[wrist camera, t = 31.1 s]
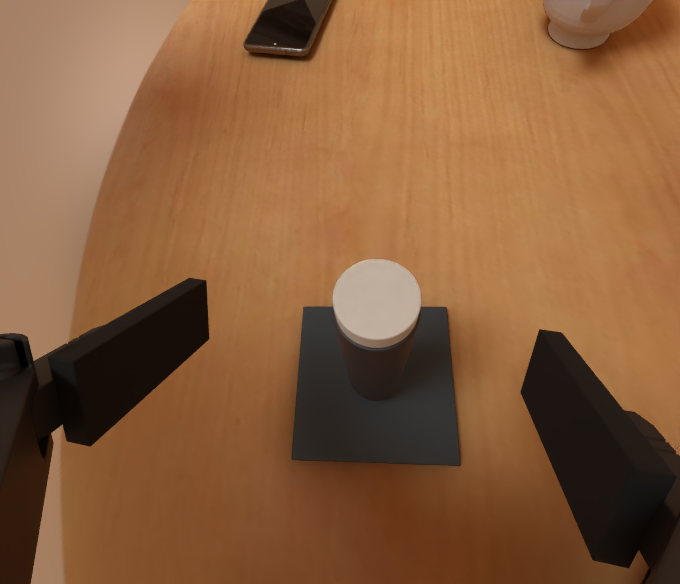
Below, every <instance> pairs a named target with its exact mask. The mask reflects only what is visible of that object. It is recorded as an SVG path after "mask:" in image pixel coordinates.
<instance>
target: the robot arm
mask: <svg viewBox="0 0 680 584" xmlns="http://www.w3.org/2000/svg"><path fill="white" fill-rule="evenodd" d="M208 340H209V325H208V305H207V285H206V280H200V279H193V278H188V279H186V280H185V281H183V282H181V283H179V284H177V285H176V286H174V287H172V288H170V289H169V290H167V291H165V292H163V293H161V294H160V295H158V296H156V297H154V298H152V299H151V300H149V301H147V302H145V303H143V304H142V305H140V306H138V307H136V308H134V309H133V310H131V311H129V312H127V313H125V314H124V315H122V316H120V317H118V318H117V319H115V320H113V321H111V322H109V323H108V324H106V325H103V326H100V327H97V328H94V329H92V330H90V331H88V332H86V333H84V334H82V335H81V336H79V338H75V339H73V340H71V341H70V342H68V344H64V345H62V346H61V347H59V348H57V349H55V350H53V351H51V352H50V353H48V354H46V355H44V356H42V357H41V358H39V359H37V360H35V361H33V357H32V353H31V349H30V345H29V341H28V337H27V336H25V335H23V334H15V333H9V334H0V584H31V578H32V572H33V566H34V559H35V554H36V547H37V541H38V535H39V529H40V522H41V517H42V511H43V505H44V498H45V492H46V486H47V480H48V474H49V468H50V462H51V456H52V450H53V440H52V435H51V433H52V432H53V431H54V430H56V429H57V428H58V427H60V426H61V425H62V424H63V427H64V432H65V436H66V441H68V442H72V443H77V444H81V445H86V446H90V447H91V446H92V445H93V444H94V443H95V442H96V441H97V440H98V439H99V438H100V437H102V436H103V435H104V434H105V433H106V432H107V431H108V430H109V429H110V428H112V427H113V426H114V425H115V424H116V423H117V422H118V421H119V420H120V419H121V418H123V417H124V416H125V415H126V414H127V413H128V412H129V411H130V410H131V409H133V408H134V407H135V406H136V405H137V404H138V403H139V402H140V401H141V400H142V399H144V398H145V397H146V396H147V395H148V394H149V393H150V392H151V391H152V390H153V389H155V388H156V387H157V386H158V385H159V384H160V383H161V382H162V381H163V380H165V379H166V378H167V377H168V376H169V375H170V374H171V373H172V372H173V371H174V370H176V369H177V368H178V367H179V366H180V365H181V364H182V363H183V362H184V361H186V360H187V359H188V358H189V357H190V356H191V355H192V354H193V353H194V352H195V351H197V350H198V349H199V348H200V347H201V346H202V345H203V344H204V343H205V342H206V341H208ZM521 395H522V397H523V399H524V402H525V404H526V406H527V409H528V411H529V413H530V416H531V418H532V420H533V422H534V425H535V427H536V429H537V432H538V434H539V436H540V439H541V441H542V443H543V446H544V448H545V450H546V453H547V455H548V457H549V460H550V462H551V464H552V467H553V469H554V471H555V474H556V476H557V478H558V481H559V483H560V485H561V488H562V490H563V492H564V495H565V497H566V499H567V502H568V504H569V506H570V509H571V511H572V513H573V516H574V518H575V520H576V522H577V525H578V527H579V529H580V532H581V534H582V536H583V539H584V541H585V543H586V546H587V548H588V550H589V553H590V555H591V557H592V560H594V561H599V562H603V563H608V564H612V565H616V566H621V567H625V568H629V567H630V565H631V563H632V561H633V560H634V558H635V556H636V554H637V552H638V550H639V551H640V552H641V554H642V556H643V558H644V560H645V561H646V563H647V565H648V567H649V569H648V571H647V572H646V574H645V576H644V578H643V580H642V581H641V583H640V584H680V456H679V455H677V454H676V451H675V450H674V449H673V448H672V447H671V446H670V444H669V443H667V442H665V439H664V437H663V436H662V435H661V434H660V433H659V432H658V430H657V429H656V428H655V427H654V426H653V425H652V424H650V423H649V422H648V421H646V420H645V419H644V418H642V417H641V416H640V415H638V414H637V413H635V412H631V411H625V410H623V409H622V407H621V406H620V405H619V404H618V402H617V401H616V400H615V399H614V397H613V396H612V395H611V394H610V392H609V391H608V390H607V389H606V387H605V386H604V385H603V384H602V382H601V381H600V380H599V379H598V377H597V376H596V375H595V374H594V372H593V371H592V370H591V369H590V367H589V366H588V365H587V364H586V362H585V361H584V360H583V359H582V357H581V356H580V355H579V354H578V352H577V351H576V350H575V349H574V347H573V346H572V345H571V344H570V342H569V341H568V340H567V339H566V337H565V336H564V335H563V334H562V333H561V332H554V331H548V330H541V329H539V332H538V336H537V339H536V342H535V346H534V349H533V352H532V356H531V359H530V362H529V366H528V369H527V372H526V376H525V379H524V382H523V386H522V389H521Z"/></svg>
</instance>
